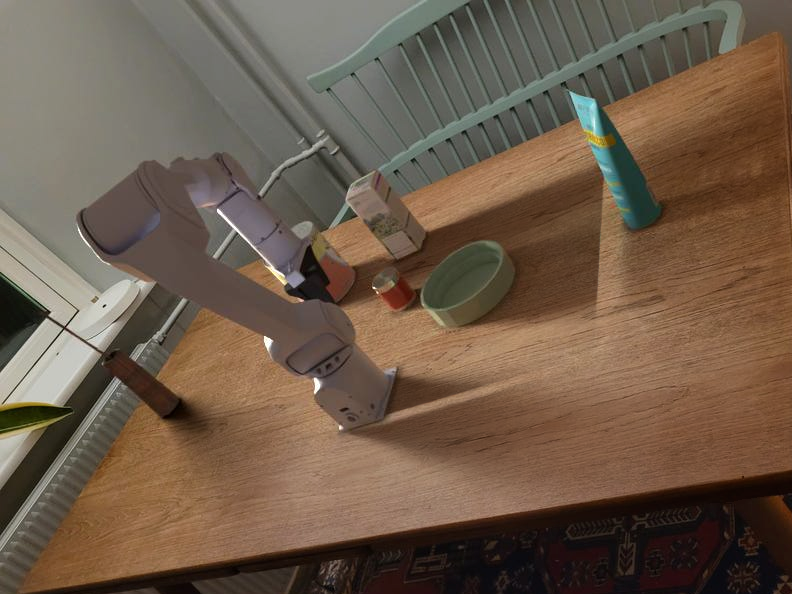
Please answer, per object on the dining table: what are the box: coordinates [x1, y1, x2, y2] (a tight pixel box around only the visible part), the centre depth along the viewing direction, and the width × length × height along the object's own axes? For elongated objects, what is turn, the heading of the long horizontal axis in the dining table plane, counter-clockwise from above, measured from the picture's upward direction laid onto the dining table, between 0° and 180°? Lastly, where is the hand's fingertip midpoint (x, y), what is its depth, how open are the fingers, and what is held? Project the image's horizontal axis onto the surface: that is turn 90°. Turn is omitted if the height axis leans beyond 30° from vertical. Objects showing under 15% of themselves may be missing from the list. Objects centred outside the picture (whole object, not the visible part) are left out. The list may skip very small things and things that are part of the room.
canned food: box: [262, 220, 357, 304], centre depth 127 cm, size 11×11×12 cm
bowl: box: [420, 239, 516, 328], centre depth 102 cm, size 14×14×4 cm
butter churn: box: [38, 310, 180, 418], centre depth 128 cm, size 9×10×28 cm
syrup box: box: [345, 169, 427, 261], centre depth 120 cm, size 6×6×14 cm
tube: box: [566, 88, 662, 230], centre depth 87 cm, size 7×5×19 cm, turn 28°
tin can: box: [371, 266, 417, 313], centre depth 111 cm, size 5×5×6 cm
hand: (328, 297), depth 107 cm, fingers open, 7 cm apart
